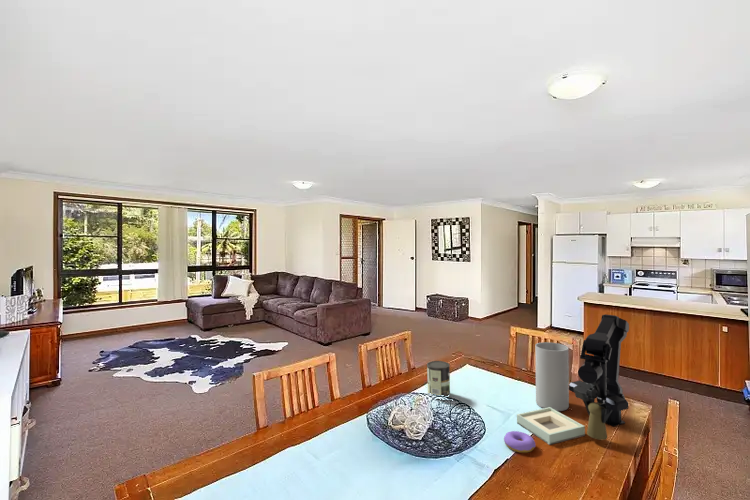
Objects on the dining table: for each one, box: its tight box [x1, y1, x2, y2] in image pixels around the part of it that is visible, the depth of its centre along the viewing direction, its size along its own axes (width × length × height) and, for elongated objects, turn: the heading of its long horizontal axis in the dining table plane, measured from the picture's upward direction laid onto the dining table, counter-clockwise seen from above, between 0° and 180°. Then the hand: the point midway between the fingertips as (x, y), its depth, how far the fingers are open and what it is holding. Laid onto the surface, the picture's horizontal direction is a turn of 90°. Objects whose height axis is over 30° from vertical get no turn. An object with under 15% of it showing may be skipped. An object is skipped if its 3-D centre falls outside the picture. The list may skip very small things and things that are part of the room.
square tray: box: [516, 407, 586, 446], centre depth 136 cm, size 16×16×4 cm
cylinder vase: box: [534, 341, 570, 412], centre depth 155 cm, size 12×12×25 cm
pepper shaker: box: [586, 401, 608, 441], centre depth 128 cm, size 6×6×11 cm
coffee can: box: [426, 360, 451, 396], centre depth 168 cm, size 10×10×14 cm
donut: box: [503, 430, 536, 454], centre depth 126 cm, size 10×9×5 cm
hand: (596, 419), depth 128 cm, fingers closed on pepper shaker, 5 cm apart
